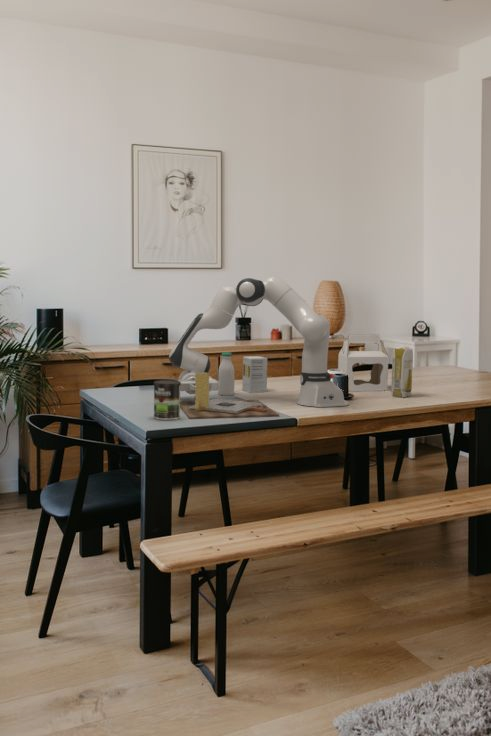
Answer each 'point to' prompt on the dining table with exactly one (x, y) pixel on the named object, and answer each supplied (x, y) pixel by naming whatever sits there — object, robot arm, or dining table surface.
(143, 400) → the dining table surface
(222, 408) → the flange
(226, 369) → the milk bottle
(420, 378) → the dining table surface
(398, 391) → the juice carton
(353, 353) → the gable box
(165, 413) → the coffee can
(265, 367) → the supplement box
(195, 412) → the base board
